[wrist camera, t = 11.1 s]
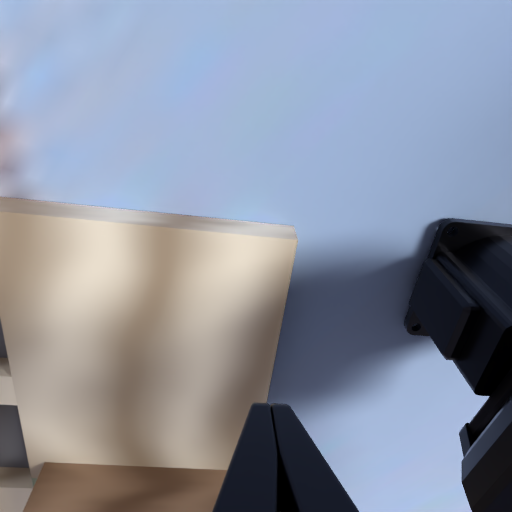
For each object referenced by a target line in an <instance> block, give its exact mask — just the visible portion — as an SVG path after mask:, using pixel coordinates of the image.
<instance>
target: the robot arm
mask: <svg viewBox="0 0 512 512" xmlns="http://www.w3.org/2000/svg"><path fill="white" fill-rule="evenodd" d="M451 227H454V229H453V231H452V232H450V233H447V231H448V230H449V228H451ZM409 305H410V308H409V310H408V313H407V316H406V319H405V321H404V326H405V328H406V330H407V332H408V333H409V334H412V335H421V336H430V337H431V338H432V340H433V341H434V343H435V344H436V346H437V348H438V349H439V351H440V352H441V354H442V355H443V356H444V358H445V359H446V360H453V362H454V363H455V365H456V366H457V368H458V369H459V371H460V372H461V374H462V375H463V377H464V378H465V380H466V381H467V383H468V384H469V386H470V387H471V388H472V390H473V391H474V393H475V394H476V395H481V396H490V397H489V398H488V400H487V401H486V402H485V404H484V405H483V406H482V408H481V409H480V410H479V411H478V413H477V414H476V415H475V417H474V418H473V419H472V421H471V422H470V423H466V424H465V425H464V427H463V428H462V429H461V431H460V432H459V436H460V441H461V446H462V451H463V456H464V459H463V460H462V484H463V487H464V490H465V493H466V496H467V499H468V502H469V505H470V508H471V510H472V512H512V225H511V224H501V223H492V222H482V221H473V220H463V219H454V218H451V219H446V220H444V221H443V222H442V223H441V224H440V226H439V228H438V230H437V233H436V236H435V239H434V241H433V244H432V247H431V250H430V252H429V255H428V258H427V260H426V261H425V262H424V263H423V265H422V268H421V271H420V274H419V276H418V279H417V282H416V285H415V287H414V290H413V293H412V296H411V299H410V301H409ZM416 323H418V324H417V325H416V326H413V325H414V324H416ZM212 512H359V511H358V509H357V508H356V506H355V504H354V503H353V501H352V500H351V498H350V497H349V495H348V494H347V492H346V491H345V489H344V488H343V486H342V485H341V483H340V482H339V480H338V479H337V477H336V476H335V474H334V473H333V471H332V469H331V468H330V466H329V465H328V463H327V462H326V460H325V459H324V457H323V456H322V454H321V453H320V451H319V450H318V448H317V447H316V445H315V444H314V442H313V441H312V439H311V437H310V436H309V434H308V433H307V431H306V430H305V428H304V427H303V425H302V424H301V422H300V421H299V419H298V418H297V416H296V415H295V413H294V412H293V410H292V409H291V407H290V406H289V405H287V404H275V403H274V404H271V405H269V404H268V403H257V402H254V403H252V404H251V407H250V409H249V412H248V415H247V417H246V420H245V423H244V426H243V428H242V431H241V434H240V436H239V439H238V442H237V445H236V447H235V450H234V453H233V456H232V458H231V461H230V464H229V466H228V469H227V472H226V475H225V477H224V480H223V483H222V486H221V488H220V491H219V494H218V496H217V499H216V502H215V505H214V507H213V510H212Z"/></svg>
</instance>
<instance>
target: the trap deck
mask: <svg viewBox="0 0 512 512" xmlns="http://www.w3.org/2000/svg"><path fill="white" fill-rule="evenodd" d="M297 243H298V238H297V235H296V232H295V229H294V226H289V225H279V224H269V223H259V222H249V221H239V220H229V219H219V218H209V217H198V216H188V215H178V214H168V213H158V212H148V211H138V210H128V209H118V208H108V207H98V206H88V205H78V204H68V203H58V202H48V201H37V200H27V199H17V198H7V197H0V512H23V510H24V507H25V505H26V503H27V501H28V498H29V496H30V494H31V492H32V489H33V487H34V485H35V483H36V480H37V478H38V476H39V474H40V471H41V469H42V467H43V465H44V462H54V463H76V464H99V465H122V466H145V467H168V468H191V469H214V470H227V469H228V466H229V464H230V461H231V458H232V456H233V453H234V450H235V447H236V445H237V442H238V439H239V436H240V434H241V431H242V428H243V426H244V423H245V420H246V417H247V415H248V412H249V409H250V407H251V404H252V403H254V402H257V403H267V398H268V392H269V387H270V382H271V377H272V372H273V367H274V361H275V356H276V351H277V346H278V341H279V336H280V330H281V325H282V320H283V315H284V310H285V305H286V299H287V294H288V289H289V284H290V279H291V274H292V268H293V263H294V258H295V253H296V248H297Z"/></svg>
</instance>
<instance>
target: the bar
mask: <svg viewBox="0 0 512 512" xmlns="http://www.w3.org/2000/svg"><path fill="white" fill-rule="evenodd" d="M226 472H227V470H214V469H191V468H168V467H145V466H122V465H99V464H76V463H54V462H44V465H43V467H42V469H41V471H40V474H39V476H38V478H37V480H36V483H35V485H34V487H33V489H32V492H31V494H30V496H29V498H28V501H27V503H26V505H25V507H24V510H23V512H212V510H213V507H214V505H215V502H216V499H217V496H218V494H219V491H220V488H221V486H222V483H223V480H224V477H225V475H226Z"/></svg>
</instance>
